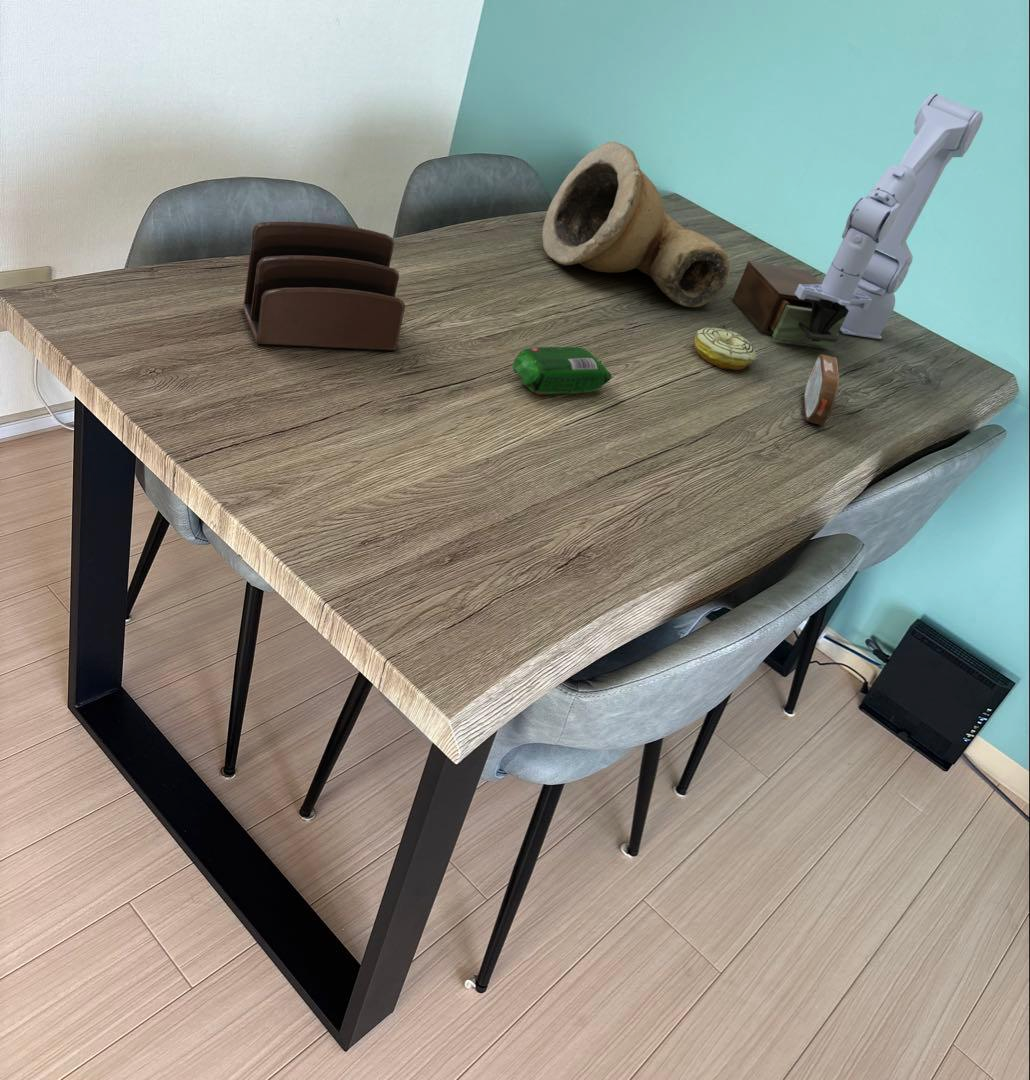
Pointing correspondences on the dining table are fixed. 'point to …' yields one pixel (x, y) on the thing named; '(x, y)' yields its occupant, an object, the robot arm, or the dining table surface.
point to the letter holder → (322, 287)
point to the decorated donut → (724, 348)
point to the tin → (821, 389)
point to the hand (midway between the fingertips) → (813, 338)
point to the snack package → (560, 370)
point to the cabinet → (768, 291)
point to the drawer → (800, 325)
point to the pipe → (629, 229)
